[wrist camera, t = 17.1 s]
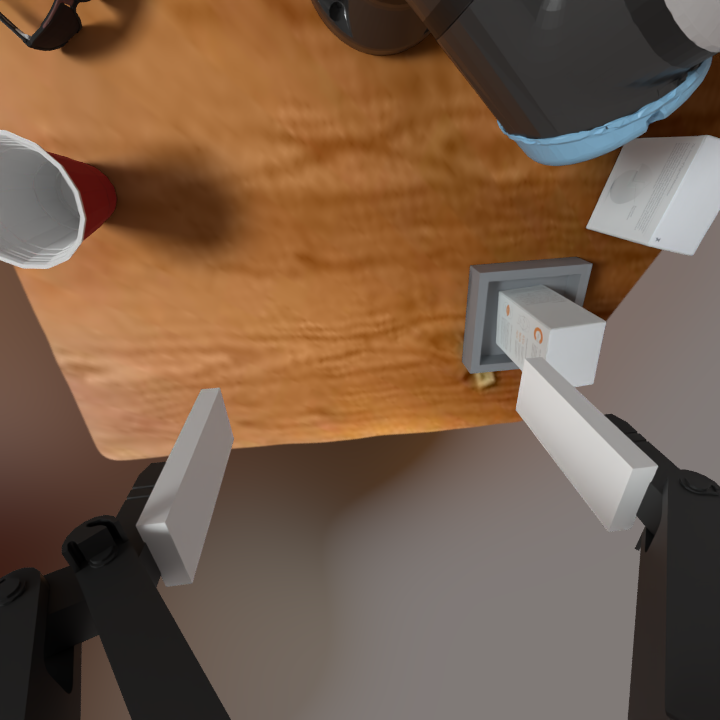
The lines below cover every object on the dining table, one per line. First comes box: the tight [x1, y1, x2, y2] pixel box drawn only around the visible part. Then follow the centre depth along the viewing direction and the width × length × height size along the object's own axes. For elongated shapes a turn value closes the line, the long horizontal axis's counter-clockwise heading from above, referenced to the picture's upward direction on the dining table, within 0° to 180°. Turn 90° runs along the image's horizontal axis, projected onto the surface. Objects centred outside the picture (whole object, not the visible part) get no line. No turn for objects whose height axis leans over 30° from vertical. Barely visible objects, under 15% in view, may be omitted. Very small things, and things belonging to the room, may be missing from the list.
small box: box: [496, 285, 607, 387], centre depth 48 cm, size 8×6×13 cm
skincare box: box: [586, 135, 720, 256], centre depth 43 cm, size 10×6×10 cm, turn 168°
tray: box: [462, 257, 593, 374], centre depth 53 cm, size 14×14×4 cm
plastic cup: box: [0, 130, 117, 269], centre depth 37 cm, size 11×11×12 cm
